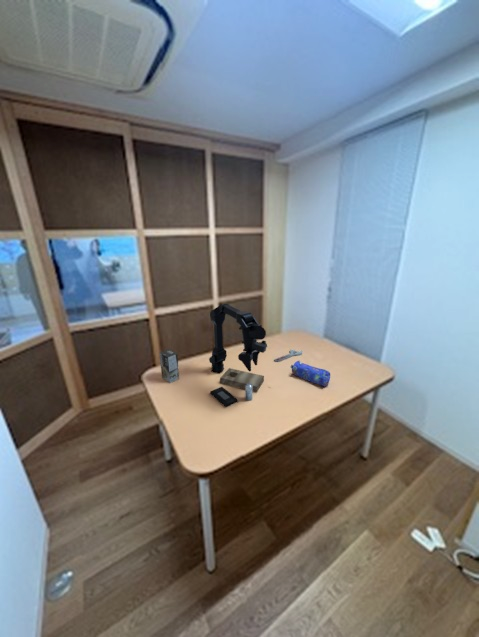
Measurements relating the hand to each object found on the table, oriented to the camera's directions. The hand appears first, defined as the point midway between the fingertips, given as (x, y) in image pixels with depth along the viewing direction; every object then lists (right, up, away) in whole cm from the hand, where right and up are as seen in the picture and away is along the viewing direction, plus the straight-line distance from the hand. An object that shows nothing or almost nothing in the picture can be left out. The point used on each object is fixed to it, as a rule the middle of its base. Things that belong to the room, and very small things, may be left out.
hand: (253, 368), depth 130 cm
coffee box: (-47, -10, +20) cm, 52 cm away
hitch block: (-6, -11, +17) cm, 22 cm away
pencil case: (+34, -11, +21) cm, 42 cm away
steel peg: (-2, -16, +2) cm, 17 cm away
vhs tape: (-15, -17, +3) cm, 23 cm away
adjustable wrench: (+27, -2, +49) cm, 57 cm away
